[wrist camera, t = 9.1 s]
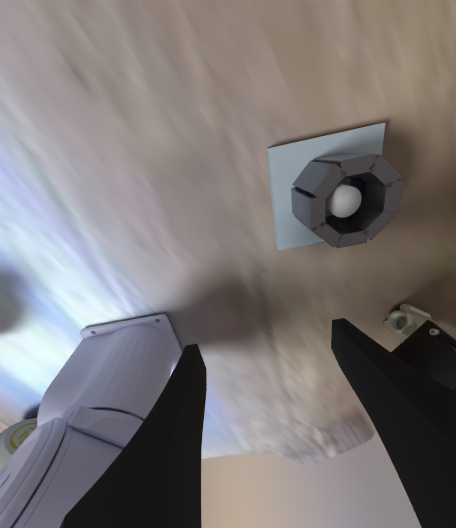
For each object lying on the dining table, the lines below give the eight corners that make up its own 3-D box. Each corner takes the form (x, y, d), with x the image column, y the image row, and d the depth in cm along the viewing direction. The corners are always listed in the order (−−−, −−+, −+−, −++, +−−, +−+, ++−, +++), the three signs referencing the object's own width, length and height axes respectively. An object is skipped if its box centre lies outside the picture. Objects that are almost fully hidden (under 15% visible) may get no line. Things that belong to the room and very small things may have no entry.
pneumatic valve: (378, 283, 22) (526, 405, 12) (456, 318, 25) (634, 444, 14) (344, 321, 24) (440, 453, 14) (418, 350, 27) (548, 479, 16)
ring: (293, 233, 18) (311, 253, 15) (289, 163, 16) (309, 167, 12) (358, 220, 18) (393, 237, 14) (364, 147, 16) (408, 146, 12)
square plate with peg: (276, 246, 20) (288, 266, 16) (266, 148, 16) (279, 147, 13) (365, 228, 19) (398, 246, 16) (376, 124, 16) (421, 116, 12)
